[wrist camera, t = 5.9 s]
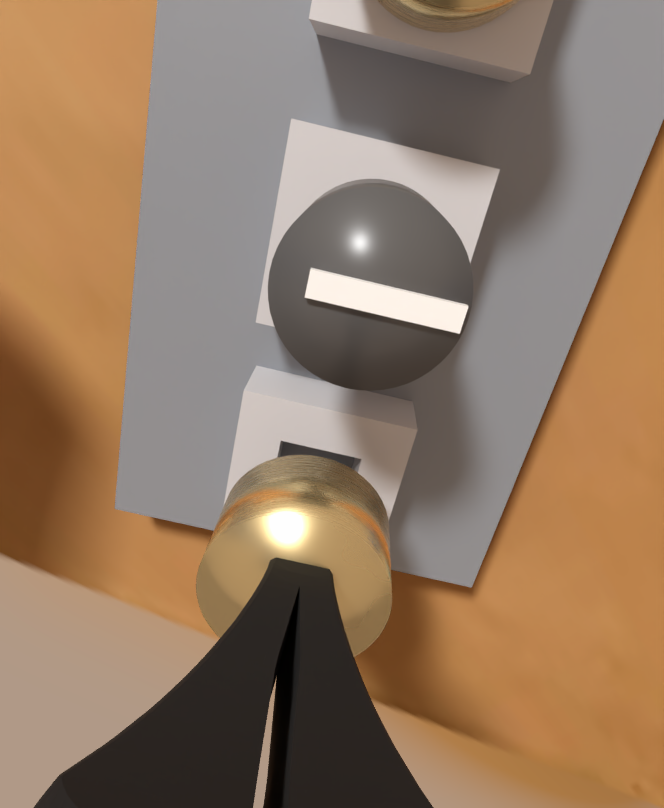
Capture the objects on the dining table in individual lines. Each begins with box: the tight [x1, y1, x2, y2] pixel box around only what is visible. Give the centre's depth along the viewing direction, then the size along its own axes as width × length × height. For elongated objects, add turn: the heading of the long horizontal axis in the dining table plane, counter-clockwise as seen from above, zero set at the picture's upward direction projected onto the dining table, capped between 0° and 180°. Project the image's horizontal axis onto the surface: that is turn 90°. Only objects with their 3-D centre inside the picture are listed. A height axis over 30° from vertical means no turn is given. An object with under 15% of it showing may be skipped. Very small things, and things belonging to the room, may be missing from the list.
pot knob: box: [268, 179, 473, 391], centre depth 12 cm, size 4×4×5 cm
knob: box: [196, 455, 392, 657], centre depth 15 cm, size 4×4×5 cm
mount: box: [115, 0, 664, 588], centre depth 17 cm, size 13×22×4 cm, turn 167°
